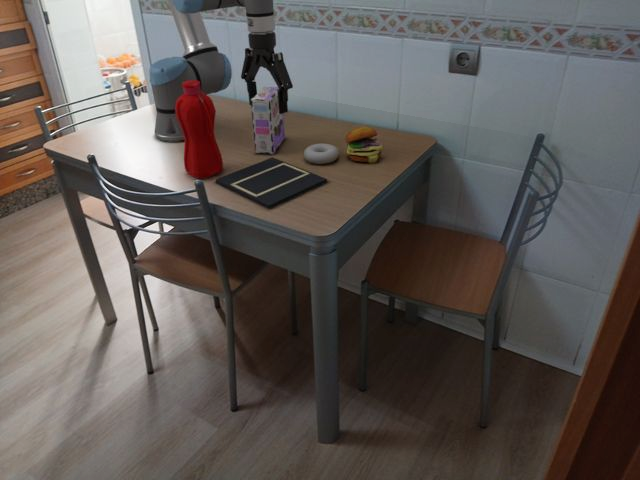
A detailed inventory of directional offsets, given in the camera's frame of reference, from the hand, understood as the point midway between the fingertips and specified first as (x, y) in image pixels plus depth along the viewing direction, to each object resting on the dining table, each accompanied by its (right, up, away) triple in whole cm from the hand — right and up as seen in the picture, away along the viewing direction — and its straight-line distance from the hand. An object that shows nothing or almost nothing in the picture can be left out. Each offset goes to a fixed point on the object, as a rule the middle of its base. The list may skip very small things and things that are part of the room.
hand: (268, 108), depth 154 cm
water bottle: (-16, -21, -10) cm, 28 cm away
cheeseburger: (+28, -15, -3) cm, 32 cm away
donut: (+16, -16, -3) cm, 22 cm away
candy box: (0, -10, +6) cm, 12 cm away
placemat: (+2, -24, -16) cm, 29 cm away
